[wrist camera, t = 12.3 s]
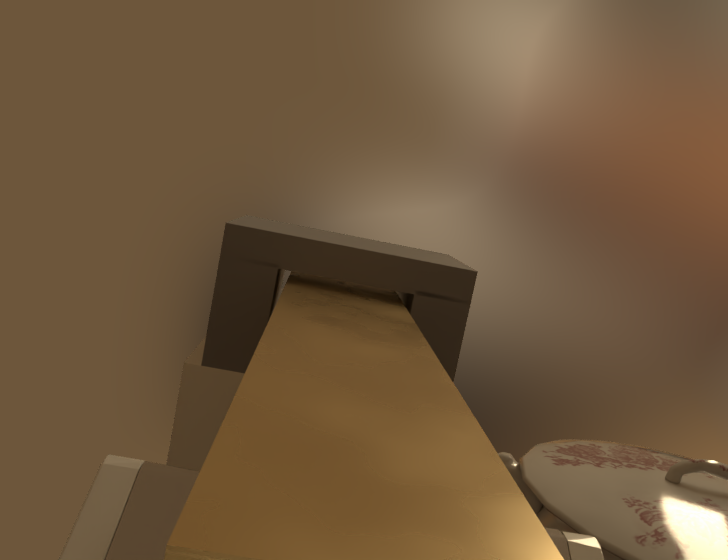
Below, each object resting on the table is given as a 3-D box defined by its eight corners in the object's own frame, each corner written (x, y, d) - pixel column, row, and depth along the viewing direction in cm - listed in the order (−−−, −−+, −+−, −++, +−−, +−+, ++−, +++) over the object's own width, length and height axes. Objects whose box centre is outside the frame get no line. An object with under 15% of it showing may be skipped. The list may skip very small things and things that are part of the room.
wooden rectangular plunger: (514, 937, 7) (596, 612, 6) (107, 886, 7) (166, 545, 6) (375, 372, 28) (393, 287, 27) (276, 354, 27) (292, 268, 27)
